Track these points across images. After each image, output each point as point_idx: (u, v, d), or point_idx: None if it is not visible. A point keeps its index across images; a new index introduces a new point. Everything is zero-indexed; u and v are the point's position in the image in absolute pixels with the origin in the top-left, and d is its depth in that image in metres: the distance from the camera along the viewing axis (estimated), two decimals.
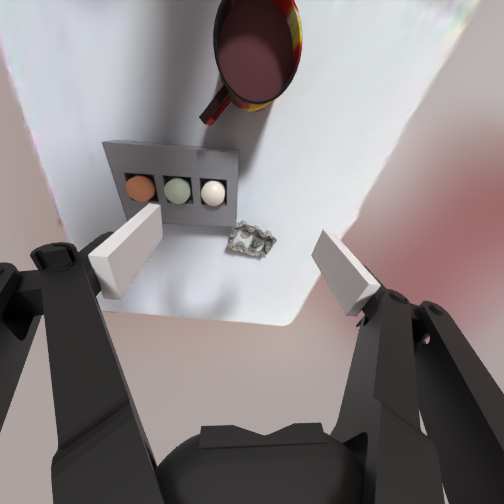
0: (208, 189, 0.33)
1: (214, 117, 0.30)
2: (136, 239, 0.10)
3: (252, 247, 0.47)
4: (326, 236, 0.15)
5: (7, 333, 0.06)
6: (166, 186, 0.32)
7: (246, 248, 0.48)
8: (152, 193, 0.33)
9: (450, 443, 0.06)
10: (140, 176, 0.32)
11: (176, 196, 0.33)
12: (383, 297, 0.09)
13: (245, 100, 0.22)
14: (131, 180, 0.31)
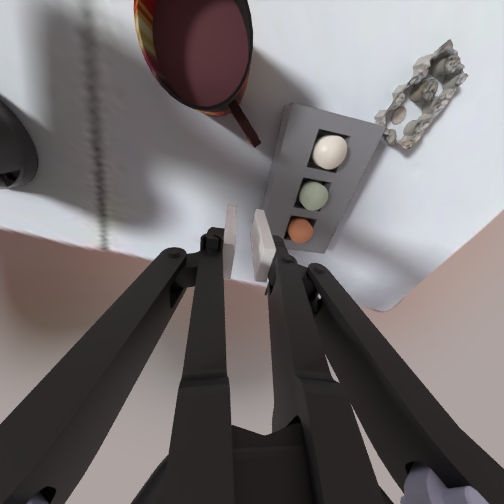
0: (323, 158, 0.26)
1: None
2: None
3: (429, 103, 0.28)
4: (256, 214, 0.16)
5: (168, 300, 0.08)
6: (306, 206, 0.30)
7: (424, 116, 0.29)
8: (307, 222, 0.33)
9: (359, 390, 0.07)
10: (289, 227, 0.34)
11: (318, 199, 0.30)
12: (277, 264, 0.10)
13: (247, 70, 0.17)
14: (292, 235, 0.33)
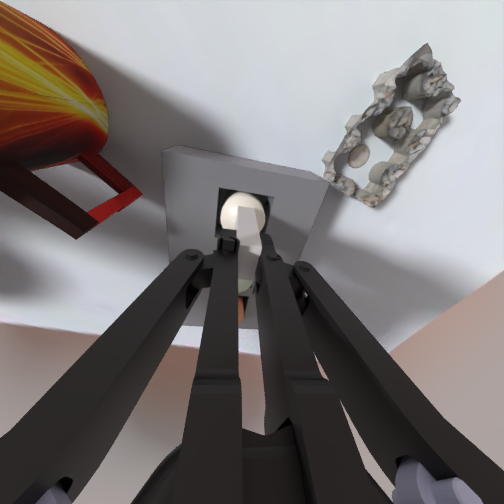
0: (231, 226, 0.17)
1: (122, 189, 0.17)
2: None
3: (402, 140, 0.18)
4: (246, 213, 0.16)
5: (184, 301, 0.08)
6: None
7: (396, 157, 0.19)
8: None
9: (348, 388, 0.07)
10: None
11: (240, 281, 0.20)
12: (263, 262, 0.10)
13: None
14: None
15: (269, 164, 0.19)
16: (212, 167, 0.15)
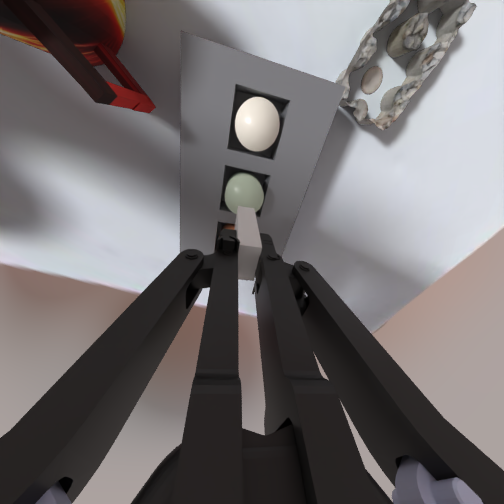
0: (245, 133, 0.17)
1: None
2: None
3: (416, 59, 0.18)
4: (246, 212, 0.15)
5: (184, 301, 0.08)
6: (232, 209, 0.20)
7: (409, 81, 0.20)
8: None
9: (348, 387, 0.07)
10: None
11: (250, 200, 0.20)
12: (263, 262, 0.10)
13: None
14: None
15: None
16: (231, 57, 0.15)
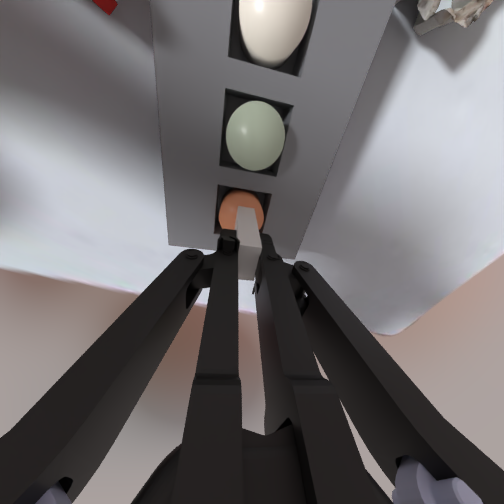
0: (256, 23, 0.11)
1: None
2: None
3: None
4: (246, 213, 0.15)
5: (184, 301, 0.08)
6: (238, 160, 0.14)
7: None
8: (251, 196, 0.17)
9: (348, 388, 0.07)
10: (220, 207, 0.18)
11: (264, 143, 0.13)
12: (263, 262, 0.10)
13: None
14: (223, 223, 0.17)
15: None
16: None
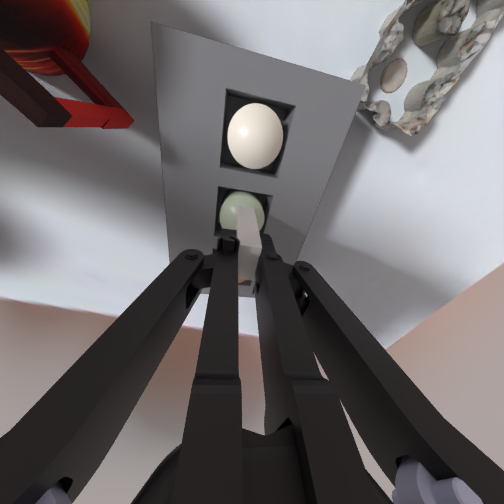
0: (240, 148, 0.14)
1: (108, 106, 0.14)
2: None
3: (450, 45, 0.15)
4: (246, 213, 0.16)
5: (184, 301, 0.08)
6: None
7: (440, 73, 0.16)
8: None
9: (348, 388, 0.07)
10: None
11: None
12: (263, 262, 0.10)
13: None
14: None
15: None
16: (218, 53, 0.11)
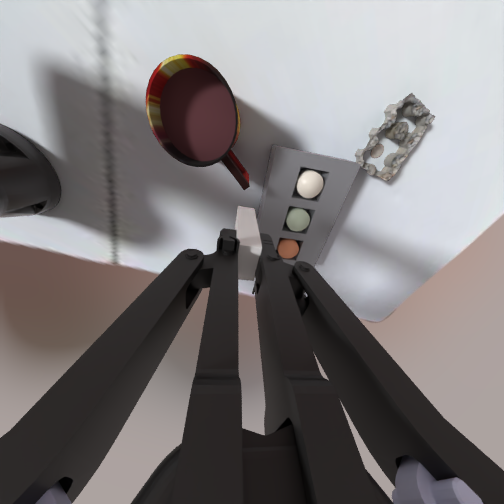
0: (303, 189, 0.31)
1: (243, 171, 0.31)
2: None
3: (403, 139, 0.31)
4: (246, 213, 0.15)
5: (184, 301, 0.08)
6: (290, 227, 0.35)
7: (401, 150, 0.32)
8: (293, 240, 0.37)
9: (348, 388, 0.07)
10: (278, 244, 0.38)
11: (301, 222, 0.34)
12: (263, 262, 0.10)
13: (234, 138, 0.21)
14: (280, 252, 0.38)
15: (323, 155, 0.32)
16: (300, 155, 0.28)
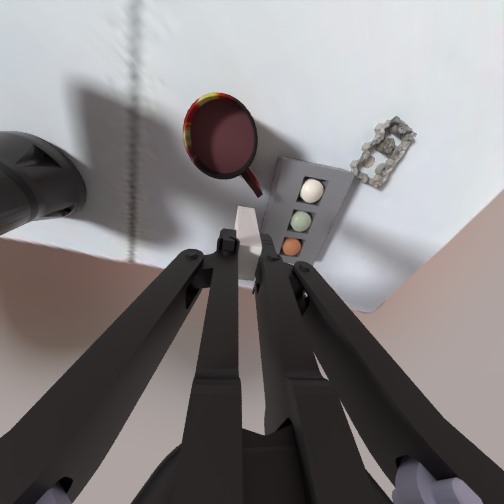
0: (306, 195, 0.35)
1: (254, 179, 0.36)
2: None
3: (391, 152, 0.36)
4: (246, 212, 0.15)
5: (184, 301, 0.08)
6: (294, 228, 0.39)
7: (389, 160, 0.37)
8: (296, 239, 0.42)
9: (348, 388, 0.07)
10: None
11: (304, 223, 0.39)
12: (263, 262, 0.10)
13: (253, 157, 0.25)
14: (284, 249, 0.42)
15: (323, 165, 0.37)
16: (304, 166, 0.33)
